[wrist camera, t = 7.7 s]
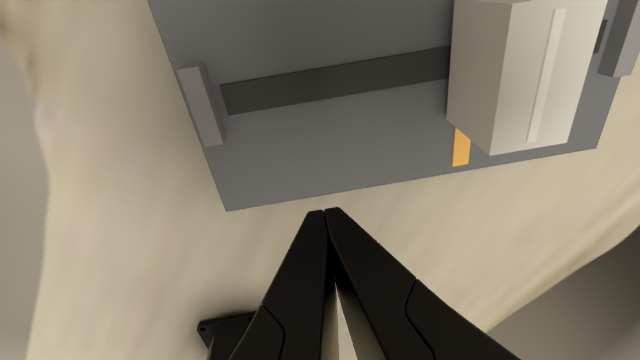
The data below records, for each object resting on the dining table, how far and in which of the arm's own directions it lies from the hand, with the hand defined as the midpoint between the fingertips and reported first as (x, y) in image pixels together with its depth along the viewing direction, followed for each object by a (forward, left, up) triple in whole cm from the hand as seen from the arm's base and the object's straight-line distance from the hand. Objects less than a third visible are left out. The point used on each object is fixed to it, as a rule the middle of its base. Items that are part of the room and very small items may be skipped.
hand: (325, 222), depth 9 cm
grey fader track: (+1, -6, -12) cm, 13 cm away
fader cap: (+1, -9, -10) cm, 14 cm away
